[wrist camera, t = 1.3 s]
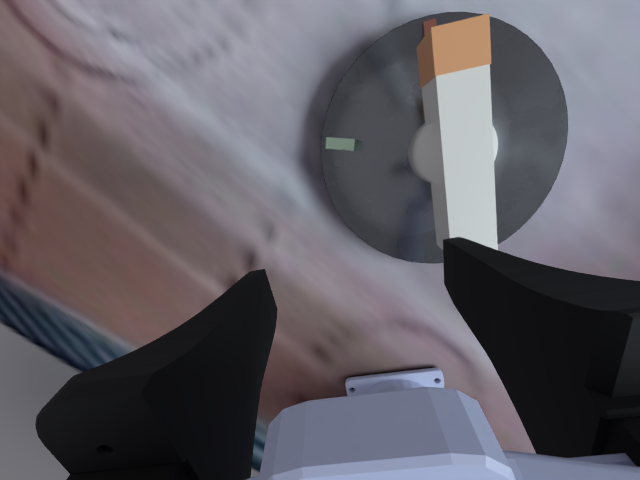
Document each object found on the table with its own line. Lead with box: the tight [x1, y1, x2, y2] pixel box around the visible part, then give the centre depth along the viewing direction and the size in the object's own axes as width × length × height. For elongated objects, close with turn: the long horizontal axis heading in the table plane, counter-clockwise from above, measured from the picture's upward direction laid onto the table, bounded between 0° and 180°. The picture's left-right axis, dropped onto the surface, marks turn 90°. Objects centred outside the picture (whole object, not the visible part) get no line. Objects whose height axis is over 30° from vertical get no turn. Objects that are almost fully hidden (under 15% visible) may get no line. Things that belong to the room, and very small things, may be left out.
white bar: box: [408, 14, 498, 250], centre depth 17 cm, size 11×4×4 cm, turn 11°
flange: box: [321, 12, 568, 263], centre depth 20 cm, size 15×15×2 cm
